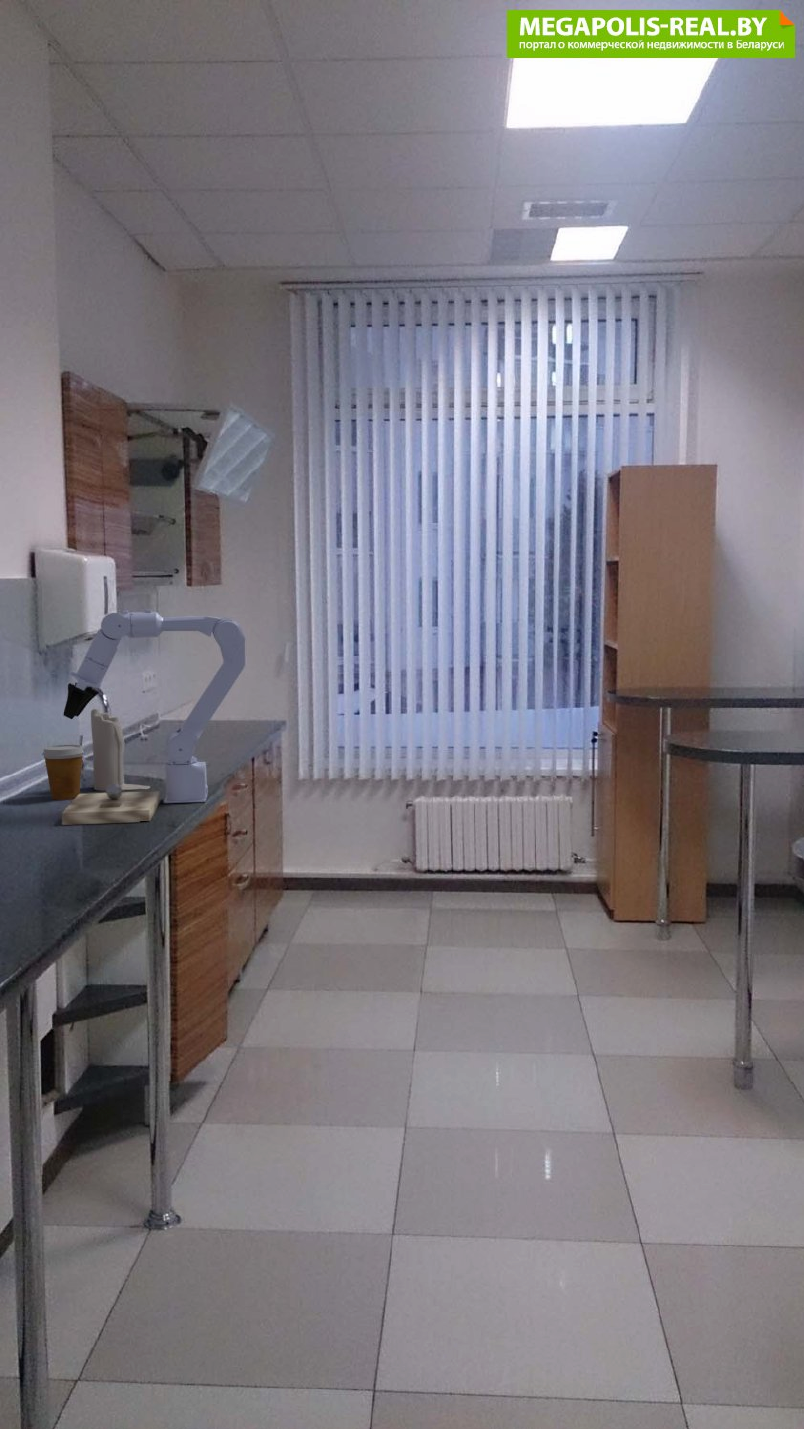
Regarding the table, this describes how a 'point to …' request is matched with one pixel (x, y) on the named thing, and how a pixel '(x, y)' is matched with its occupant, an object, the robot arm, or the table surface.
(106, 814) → the birch plate
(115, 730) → the beige bookend
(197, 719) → the robot arm
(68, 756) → the disposable coffee cup
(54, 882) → the table surface
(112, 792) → the steel ball
